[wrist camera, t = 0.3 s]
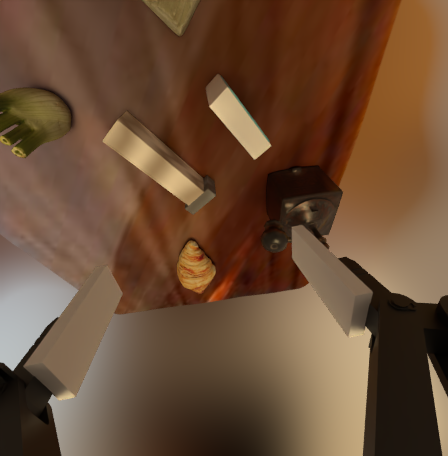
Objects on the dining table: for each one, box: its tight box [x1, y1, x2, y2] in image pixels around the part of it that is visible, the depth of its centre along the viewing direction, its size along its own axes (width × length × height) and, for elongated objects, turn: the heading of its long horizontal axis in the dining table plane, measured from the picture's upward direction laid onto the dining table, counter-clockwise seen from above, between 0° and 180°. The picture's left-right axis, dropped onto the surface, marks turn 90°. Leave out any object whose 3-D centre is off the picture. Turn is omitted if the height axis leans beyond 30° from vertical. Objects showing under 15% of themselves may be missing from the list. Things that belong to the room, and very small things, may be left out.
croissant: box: [177, 240, 216, 294], centre depth 55 cm, size 21×10×8 cm, turn 3°
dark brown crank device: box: [261, 166, 343, 252], centre depth 37 cm, size 16×11×18 cm
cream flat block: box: [206, 74, 271, 160], centre depth 27 cm, size 3×8×12 cm, turn 42°
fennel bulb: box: [0, 88, 71, 158], centre depth 26 cm, size 6×5×12 cm
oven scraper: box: [103, 111, 216, 214], centre depth 35 cm, size 18×6×5 cm, turn 42°
